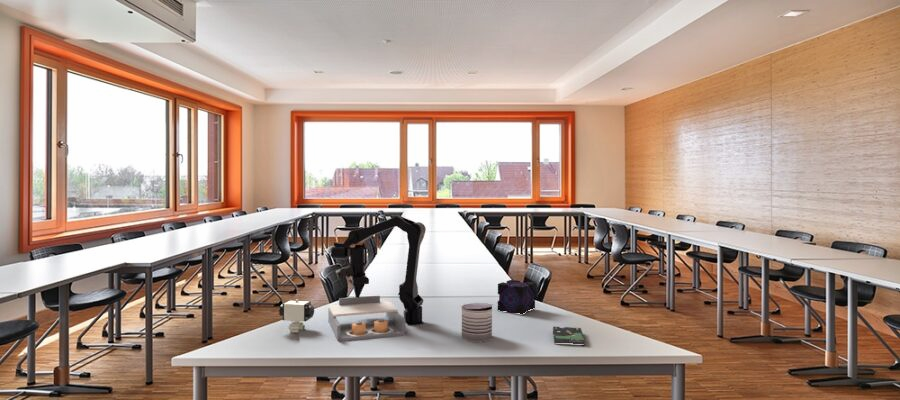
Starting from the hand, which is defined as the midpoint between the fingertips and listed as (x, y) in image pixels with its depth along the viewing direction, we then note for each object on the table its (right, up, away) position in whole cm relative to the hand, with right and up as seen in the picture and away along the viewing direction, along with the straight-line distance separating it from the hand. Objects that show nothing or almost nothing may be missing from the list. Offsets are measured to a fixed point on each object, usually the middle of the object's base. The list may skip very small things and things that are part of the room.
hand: (357, 298), depth 202 cm
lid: (+4, -2, -11) cm, 12 cm away
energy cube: (+67, -9, +15) cm, 69 cm away
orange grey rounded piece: (+13, -8, -23) cm, 28 cm away
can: (+47, -10, -24) cm, 54 cm away
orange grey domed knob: (+5, -8, -26) cm, 28 cm away
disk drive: (+80, -10, -25) cm, 84 cm away
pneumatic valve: (-19, -9, -19) cm, 28 cm away
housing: (+6, -9, -17) cm, 20 cm away
